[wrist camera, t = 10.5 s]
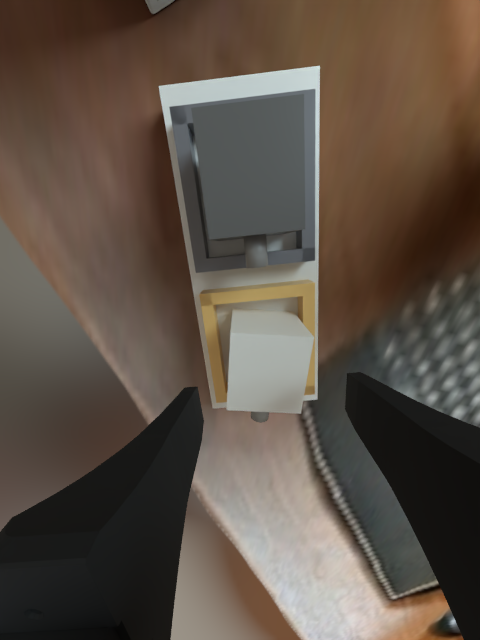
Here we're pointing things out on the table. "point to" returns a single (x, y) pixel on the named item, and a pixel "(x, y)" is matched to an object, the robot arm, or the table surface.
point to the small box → (157, 5)
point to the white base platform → (229, 255)
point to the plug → (267, 362)
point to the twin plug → (252, 170)
